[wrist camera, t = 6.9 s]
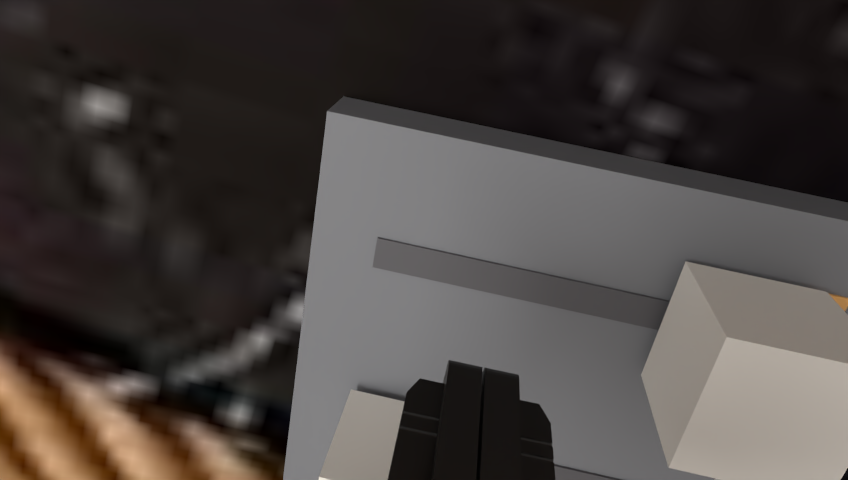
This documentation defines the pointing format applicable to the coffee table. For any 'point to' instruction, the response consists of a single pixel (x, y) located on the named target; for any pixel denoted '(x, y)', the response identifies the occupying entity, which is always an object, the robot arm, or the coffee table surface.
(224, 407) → the coffee table surface
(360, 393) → the middle slider
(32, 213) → the coffee table surface
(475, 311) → the switch board
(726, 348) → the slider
